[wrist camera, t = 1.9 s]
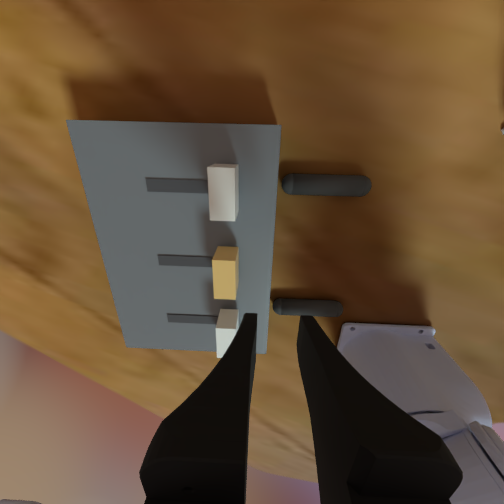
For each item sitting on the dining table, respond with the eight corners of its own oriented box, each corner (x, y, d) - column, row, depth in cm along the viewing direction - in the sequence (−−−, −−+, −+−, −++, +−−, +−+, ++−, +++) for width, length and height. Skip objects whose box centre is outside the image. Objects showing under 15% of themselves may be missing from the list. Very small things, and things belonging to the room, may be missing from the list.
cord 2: (341, 297, 24) (346, 307, 23) (338, 310, 25) (343, 320, 23) (272, 294, 24) (273, 304, 23) (271, 307, 25) (272, 317, 24)
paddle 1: (238, 164, 16) (234, 167, 14) (238, 211, 17) (235, 221, 15) (214, 163, 16) (207, 167, 14) (216, 210, 17) (209, 220, 15)
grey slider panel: (278, 127, 18) (281, 124, 15) (265, 332, 26) (266, 354, 23) (95, 123, 18) (64, 119, 15) (140, 326, 27) (125, 348, 24)
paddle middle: (238, 246, 18) (235, 260, 16) (238, 282, 20) (235, 299, 18) (217, 246, 18) (212, 260, 16) (219, 281, 20) (214, 298, 18)
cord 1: (368, 174, 19) (377, 177, 18) (364, 194, 20) (372, 198, 18) (281, 172, 19) (283, 174, 18) (280, 192, 20) (281, 196, 19)
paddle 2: (238, 309, 21) (235, 328, 19) (238, 337, 22) (235, 358, 20) (220, 308, 21) (215, 328, 19) (221, 336, 22) (217, 357, 20)
